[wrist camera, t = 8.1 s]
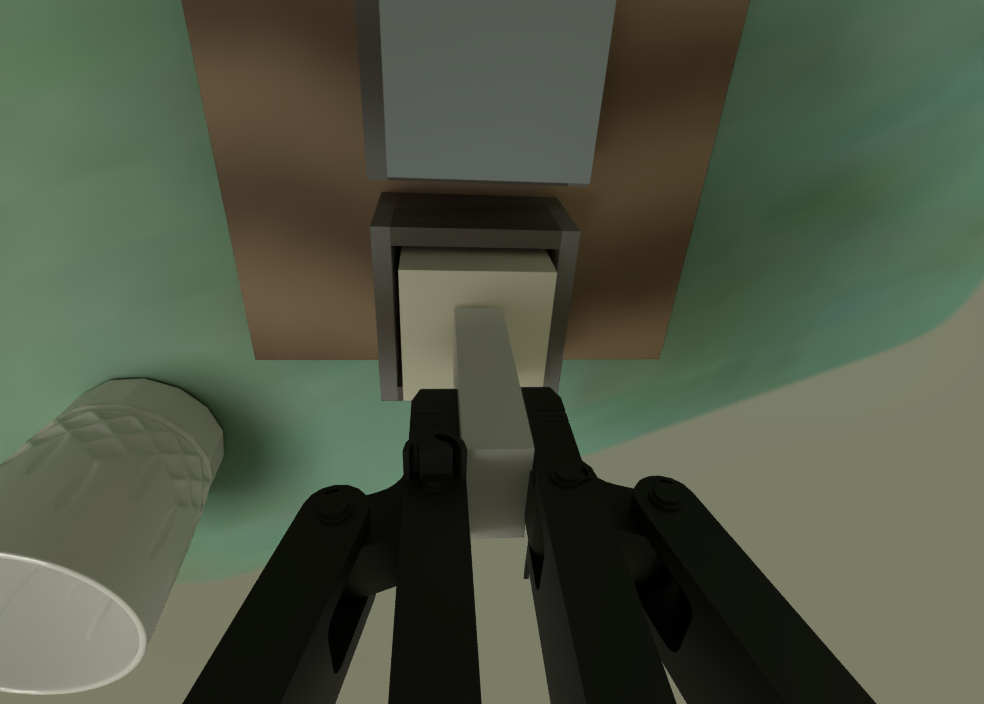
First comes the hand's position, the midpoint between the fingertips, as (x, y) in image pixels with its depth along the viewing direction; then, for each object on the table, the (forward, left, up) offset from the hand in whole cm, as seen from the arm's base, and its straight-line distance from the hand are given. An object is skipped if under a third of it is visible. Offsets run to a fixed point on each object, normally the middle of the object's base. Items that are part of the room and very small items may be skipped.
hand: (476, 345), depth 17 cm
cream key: (0, 0, -5) cm, 5 cm away
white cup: (+9, -15, -7) cm, 19 cm away
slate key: (-8, 0, -3) cm, 9 cm away
